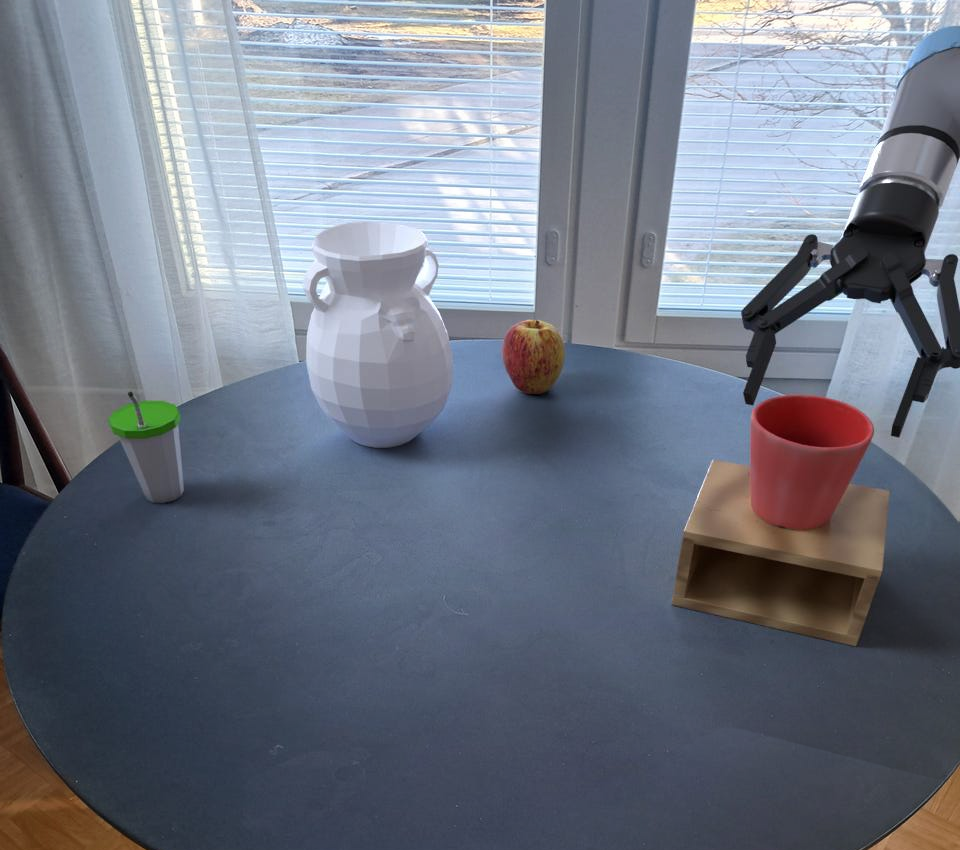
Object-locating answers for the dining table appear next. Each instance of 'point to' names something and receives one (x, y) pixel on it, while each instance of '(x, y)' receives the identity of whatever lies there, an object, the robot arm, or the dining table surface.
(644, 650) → the dining table surface
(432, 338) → the white handled vase
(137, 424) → the cup
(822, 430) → the flower pot
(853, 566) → the cubby shelf
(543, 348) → the apple
